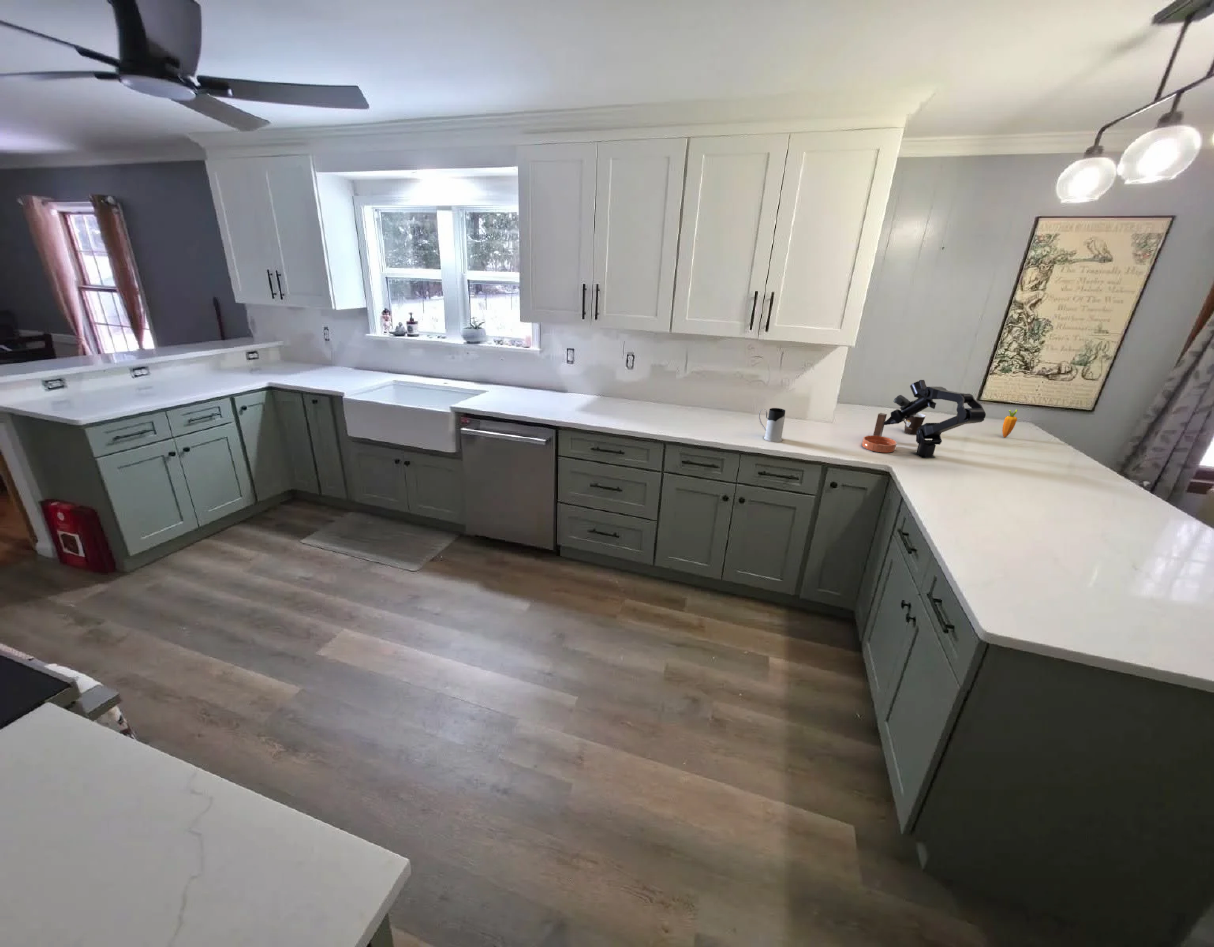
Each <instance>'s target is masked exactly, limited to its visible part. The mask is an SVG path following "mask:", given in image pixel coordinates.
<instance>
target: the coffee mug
mask: <svg viewBox="0 0 1214 947" xmlns="http://www.w3.org/2000/svg"><path fill="white" fill-rule="evenodd" d="M926 416H927V415H926V414H924V413H921V412H918V413H916V415H914V416H913V417H911V418H908V419H905V420H904V421H903V423H904V428H903V429H904V430H903V432H904V434H906V435H910V436H916V432H917V430H918V428H919V427H921V426H920V425H924V422H925V419H926Z"/></svg>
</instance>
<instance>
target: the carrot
mask: <svg viewBox="0 0 1214 947" xmlns="http://www.w3.org/2000/svg"><path fill="white" fill-rule="evenodd" d="M1008 412H1009V415H1007V416H1006V417H1004V420H1003V423H1002V430H1001V431H1002V432H1001V433H1002V437H1003V438H1004V439H1006V438H1007V437H1008V436H1009V435H1010V434H1011V433H1012V431H1013V430H1014V428H1015V426H1016V423H1017V421H1018V418H1017V416H1015V415H1016V414H1017V412H1018V409H1015V410H1014V411H1013V412H1012V410H1011V409H1009V410H1008Z"/></svg>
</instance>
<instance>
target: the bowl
mask: <svg viewBox="0 0 1214 947" xmlns="http://www.w3.org/2000/svg"><path fill="white" fill-rule="evenodd" d="M897 444H898V443H897V441H896V440H895V439H893V438H890V437H887V436H883V435H882V436H874V435H873V434H872V435H865V436H863V438H862V442H861V446H862V447H863V448H864V449H866V450H868V451H871V452H874V453H875V452H876V453H882V454H883V453H884V454H885V453H886V454H888V453H893V452H895V451H896V448H897V447H896V446H897Z"/></svg>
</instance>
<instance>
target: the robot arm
mask: <svg viewBox="0 0 1214 947" xmlns="http://www.w3.org/2000/svg"><path fill="white" fill-rule="evenodd" d="M909 388H910V390H911V392H912V395H913V397H914V398H916V399H914V400H909V399H908V398H907V397H905V396H903V395H902V394H898V395H897V396H896V397H894V400H893V403H894V404H896V405H898V406H899V409H895V410H893V411H890V416H889V417H888V418H887V419H886V420H885V422H884V423H883V424H884V426H890V425H896V424H897V425H898V424H900V423H902V422H904V421H906V419H908V418H911V417H913V416H914V415H916V413H921V412H922V411H924V410H926V409H927V408H931V409H933V410H935V409H936V405H937V402H935V401H934V400H944V401H948V402H953V403H956V404H957V405H956V415H955V416H952V417H950V418H948V419H944V420H943V421H940V422H925V423H923V424H922V425H920V426H921V427H919V428H918V430H917V432H916V435H915V442H916V443H917V448H916V451H915V452H913V454H914V455H915V456H918V457H919V458H921V459H935V458H936V456H935V455H934V453H935V449H936V447H937V445H941V444H942V442H943V440H942V437H941V435H942V434H943V433H944V432H947V431H951V430H953V429H955V428H958V427H961V426H964V425H970V424H979V423H982V422H984V421H985V419H986V416H987V414H986V411H985V409H984V407H983V405H982V404H981V403H980V402H979V401H977V399H975V398H974V397H975V396H974V395H973V394H972V393H964V392H958V391H953V390H947V388H945V387H943V386H927V384H926V382H925V379H919V380H917V381H915V382H913V383H911V384H910V385H909ZM964 404H967V406H969V407H966V408H965V406H964Z"/></svg>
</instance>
